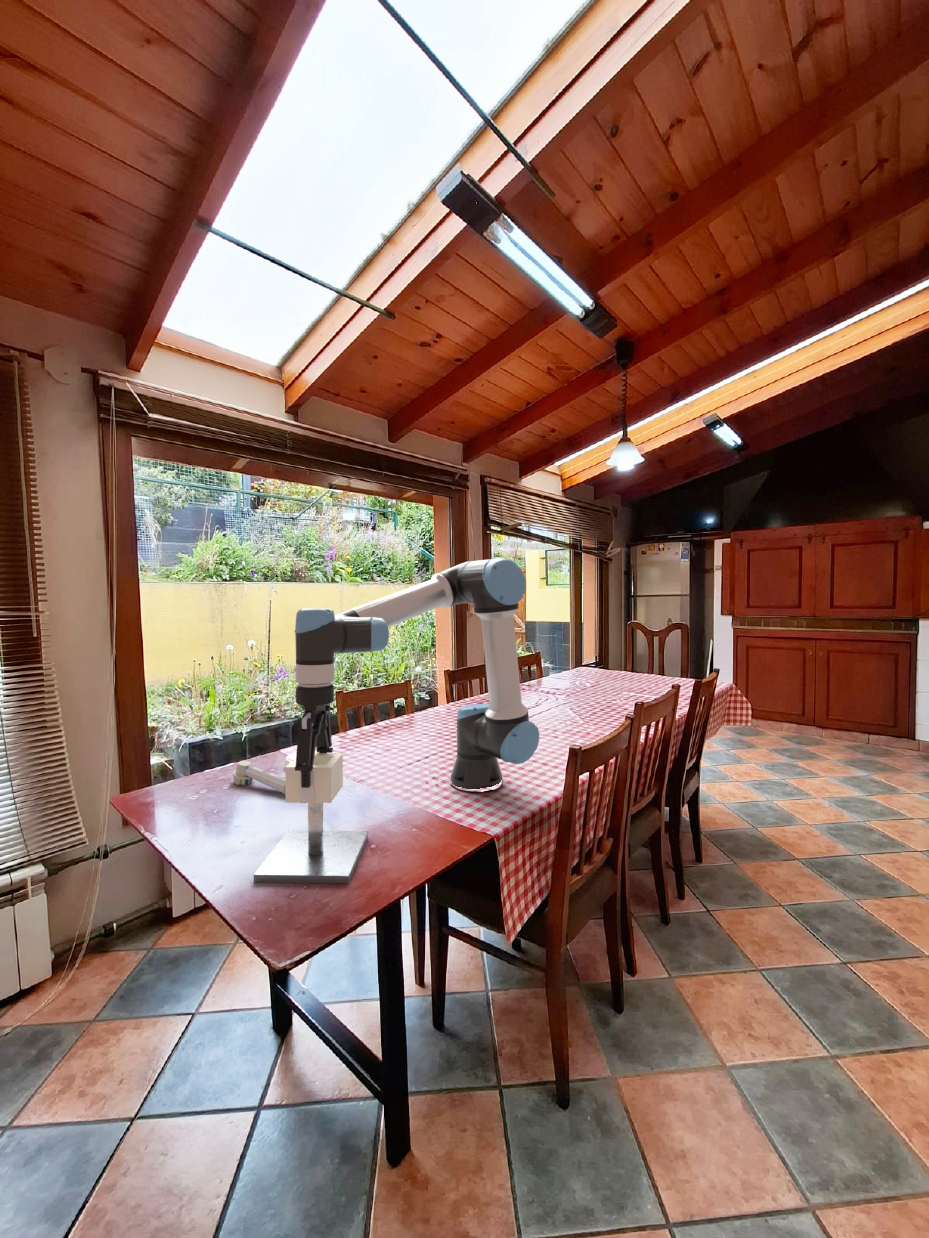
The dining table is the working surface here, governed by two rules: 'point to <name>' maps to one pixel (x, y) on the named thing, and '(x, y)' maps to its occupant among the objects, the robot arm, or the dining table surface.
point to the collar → (317, 778)
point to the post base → (313, 854)
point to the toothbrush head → (258, 776)
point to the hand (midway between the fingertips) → (315, 792)
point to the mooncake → (291, 758)
